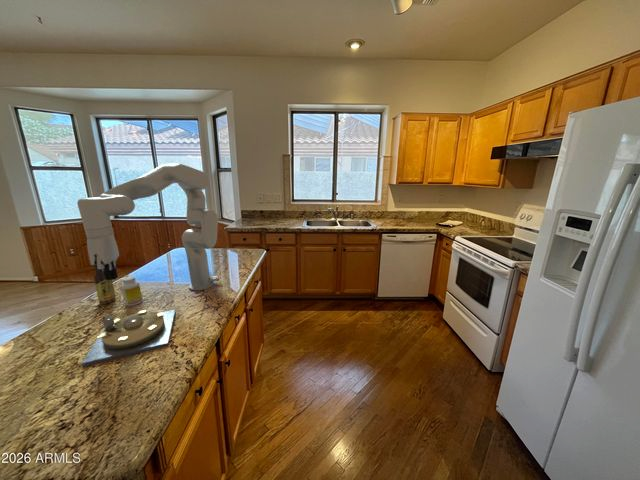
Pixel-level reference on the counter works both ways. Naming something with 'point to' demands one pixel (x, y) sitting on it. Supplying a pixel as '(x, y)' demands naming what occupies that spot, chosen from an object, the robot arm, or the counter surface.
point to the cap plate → (104, 354)
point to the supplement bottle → (131, 291)
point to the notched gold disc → (131, 329)
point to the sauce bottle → (103, 287)
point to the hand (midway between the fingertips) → (112, 278)
